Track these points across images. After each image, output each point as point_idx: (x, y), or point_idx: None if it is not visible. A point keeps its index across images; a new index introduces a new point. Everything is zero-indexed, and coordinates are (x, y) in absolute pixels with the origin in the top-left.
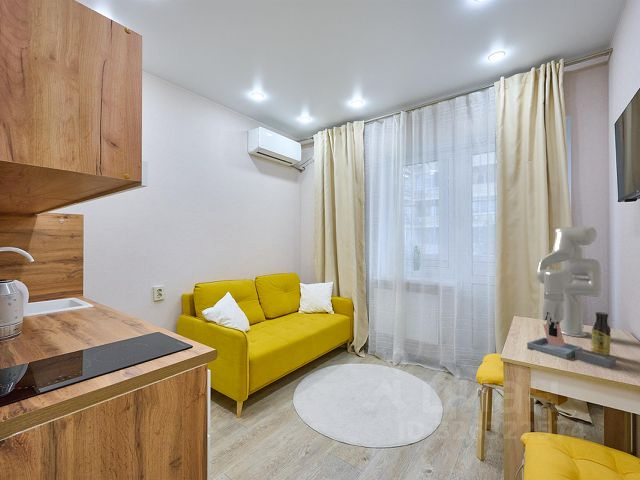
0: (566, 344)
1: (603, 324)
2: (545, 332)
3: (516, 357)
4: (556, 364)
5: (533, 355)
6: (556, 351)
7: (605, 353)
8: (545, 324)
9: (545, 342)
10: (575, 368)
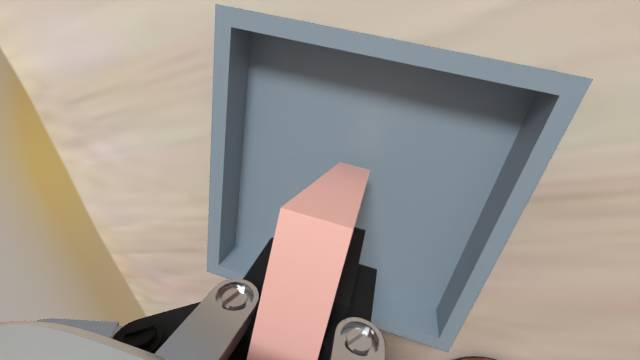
0: (470, 268)
1: None
2: (317, 180)
3: (21, 22)
4: (132, 213)
5: (148, 92)
6: (210, 225)
7: None
8: (275, 247)
9: (533, 94)
10: (161, 278)
